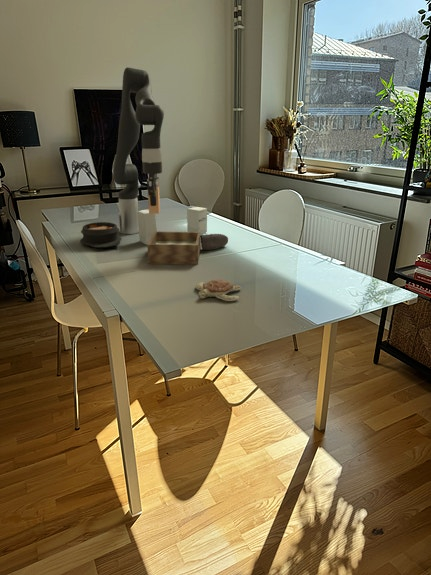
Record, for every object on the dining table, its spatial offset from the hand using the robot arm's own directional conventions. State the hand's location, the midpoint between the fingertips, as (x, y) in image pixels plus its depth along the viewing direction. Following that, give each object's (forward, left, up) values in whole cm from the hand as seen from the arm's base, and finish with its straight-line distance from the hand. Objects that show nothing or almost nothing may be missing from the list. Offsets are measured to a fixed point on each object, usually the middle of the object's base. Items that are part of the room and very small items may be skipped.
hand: (154, 204), depth 170 cm
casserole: (-28, +17, -22) cm, 40 cm away
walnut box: (+8, 0, -22) cm, 23 cm away
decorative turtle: (+26, -39, -22) cm, 52 cm away
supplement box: (+15, +38, -22) cm, 46 cm away
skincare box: (-7, +20, -22) cm, 30 cm away
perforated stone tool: (+24, +12, -22) cm, 35 cm away
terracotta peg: (0, 0, -3) cm, 3 cm away
